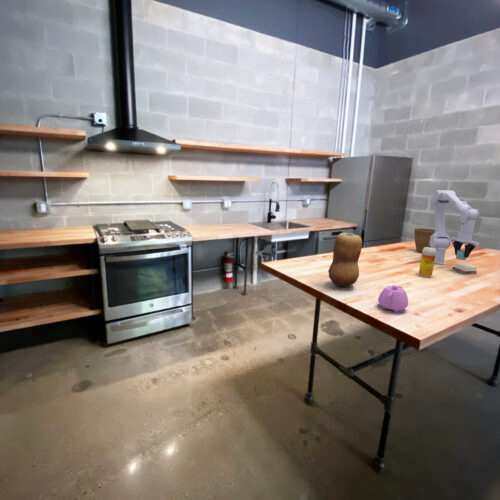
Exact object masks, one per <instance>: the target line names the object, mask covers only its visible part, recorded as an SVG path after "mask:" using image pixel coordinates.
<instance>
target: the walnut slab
mask: <svg viewBox="0 0 500 500" xmlns="http://www.w3.org/2000/svg"><path fill="white" fill-rule="evenodd" d="M451 270H452V271H454V272H456V273H458V274H461V275H477V273H478V271H477V270H476V271H462V270H460V269H457V268H455V266H452V267H451Z"/></svg>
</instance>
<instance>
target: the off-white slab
mask: <svg viewBox="0 0 500 500" xmlns="http://www.w3.org/2000/svg"><path fill="white" fill-rule="evenodd" d="M454 267H455V268H457V269H460V270H462V271H477V269H478V267H477V266H475V265H472V264H469V263H455V264H454Z"/></svg>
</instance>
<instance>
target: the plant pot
mask: <svg viewBox="0 0 500 500" xmlns="http://www.w3.org/2000/svg"><path fill="white" fill-rule="evenodd" d="M413 231H414V232H413V233H414V242H415V243H414V245H415V249H416V252H417V253H419V254H422V251H423V249H424V247H430V248H431V246H430V238H431V236H432V235H433V234H434V233H435V229H433V228H432V229H431V228H414V230H413Z"/></svg>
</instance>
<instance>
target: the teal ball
mask: <svg viewBox="0 0 500 500" xmlns="http://www.w3.org/2000/svg"><path fill="white" fill-rule="evenodd" d="M464 254H465V249H460V250H457V255H455V259H456V260H460V261H466V260H467V258H464Z"/></svg>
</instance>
